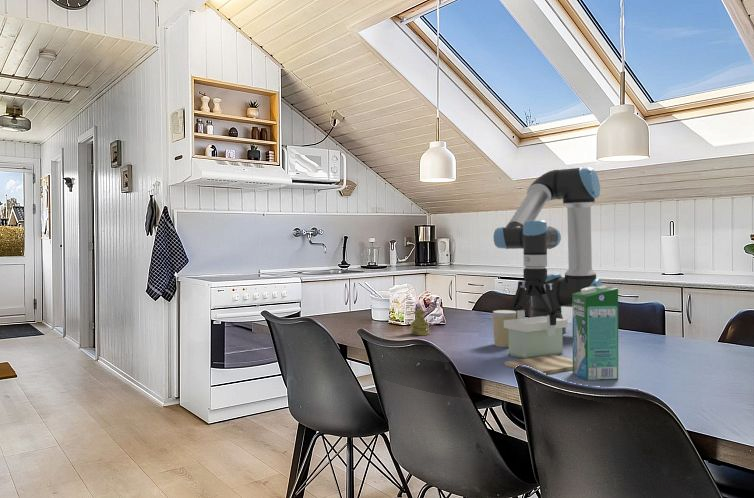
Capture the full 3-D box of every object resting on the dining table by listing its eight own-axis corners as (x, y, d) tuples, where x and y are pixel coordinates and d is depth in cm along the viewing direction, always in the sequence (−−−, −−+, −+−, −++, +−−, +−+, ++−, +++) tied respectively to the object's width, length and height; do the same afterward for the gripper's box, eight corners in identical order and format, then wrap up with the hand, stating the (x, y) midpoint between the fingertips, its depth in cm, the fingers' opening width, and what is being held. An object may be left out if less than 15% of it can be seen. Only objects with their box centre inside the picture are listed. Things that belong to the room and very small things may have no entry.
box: (544, 350, 200) (544, 323, 200) (562, 354, 193) (562, 326, 193) (508, 355, 192) (508, 327, 192) (526, 359, 185) (525, 331, 185)
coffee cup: (519, 347, 204) (519, 313, 204) (492, 347, 206) (492, 313, 206) (518, 343, 213) (518, 310, 213) (492, 342, 215) (492, 309, 215)
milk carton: (572, 372, 167) (572, 285, 166) (603, 371, 168) (602, 284, 167) (586, 380, 158) (586, 288, 157) (618, 379, 159) (618, 287, 158)
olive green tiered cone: (433, 334, 234) (432, 309, 234) (418, 336, 230) (418, 311, 229) (421, 332, 240) (421, 307, 240) (406, 334, 236) (406, 309, 235)
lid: (544, 324, 201) (543, 316, 201) (567, 328, 192) (567, 319, 192) (503, 329, 192) (503, 320, 192) (526, 334, 183) (526, 324, 183)
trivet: (552, 357, 187) (552, 354, 187) (590, 366, 174) (590, 363, 174) (504, 365, 177) (504, 362, 177) (540, 375, 164) (540, 371, 164)
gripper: (500, 266, 201) (501, 328, 201) (555, 269, 179) (555, 339, 179) (517, 265, 204) (517, 326, 205) (573, 268, 183) (573, 336, 183)
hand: (535, 332), depth 192 cm, fingers open, 13 cm apart
